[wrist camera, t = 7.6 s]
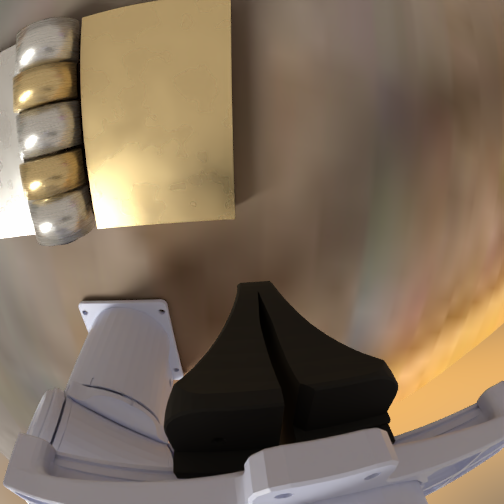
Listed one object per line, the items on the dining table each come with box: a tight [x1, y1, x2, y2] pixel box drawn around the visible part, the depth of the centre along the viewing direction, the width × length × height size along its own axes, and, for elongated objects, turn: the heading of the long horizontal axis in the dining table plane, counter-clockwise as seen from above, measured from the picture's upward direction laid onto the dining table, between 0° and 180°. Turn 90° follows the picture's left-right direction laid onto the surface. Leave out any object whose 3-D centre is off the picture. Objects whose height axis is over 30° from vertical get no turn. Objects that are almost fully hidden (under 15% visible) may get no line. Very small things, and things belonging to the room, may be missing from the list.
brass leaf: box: [13, 0, 235, 229], centre depth 15 cm, size 14×14×4 cm
